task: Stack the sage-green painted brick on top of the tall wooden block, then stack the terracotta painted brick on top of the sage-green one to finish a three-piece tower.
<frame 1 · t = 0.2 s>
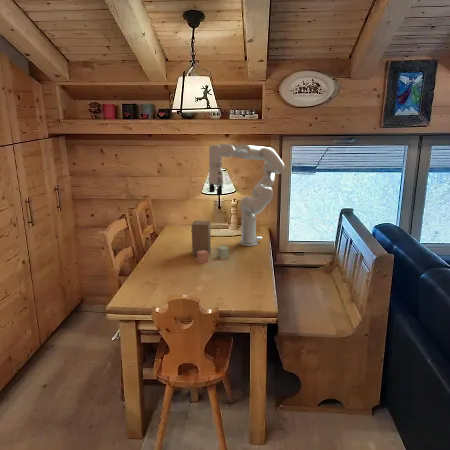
hand: (215, 193, 258), 36 cm above the table, tool pointing down, fingers open, 9 cm apart
brick terracotta: (202, 261, 246), on the table
wooden block: (201, 253, 259), on the table
brick sage: (223, 257, 253), on the table
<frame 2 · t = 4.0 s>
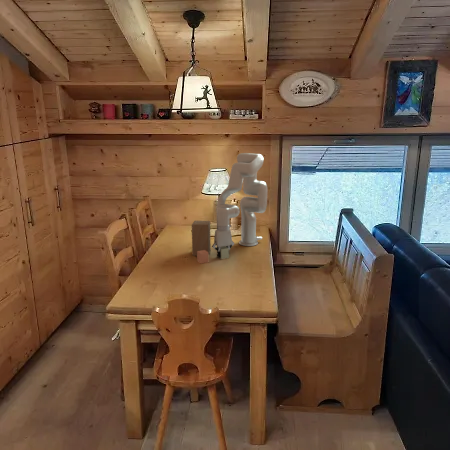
hand: (223, 256, 253), 0 cm above the table, tool pointing down, fingers closed on brick sage, 5 cm apart
brick sage: (223, 257, 253), on the table, touching gripper
everything else where it was.
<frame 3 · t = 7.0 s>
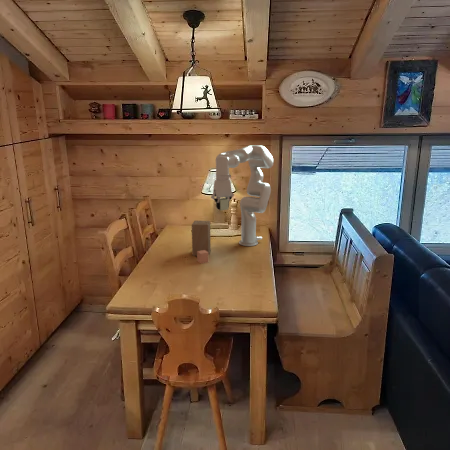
hand: (222, 208, 245), 30 cm above the table, tool pointing down, fingers closed on brick sage, 5 cm apart
brick sage: (222, 209, 245), point 30 cm above the table, touching gripper
everything else where it was.
when the fingers open (22 cm above the table, at t = 9.8 s): brick sage drops 2 cm, resting on wooden block.
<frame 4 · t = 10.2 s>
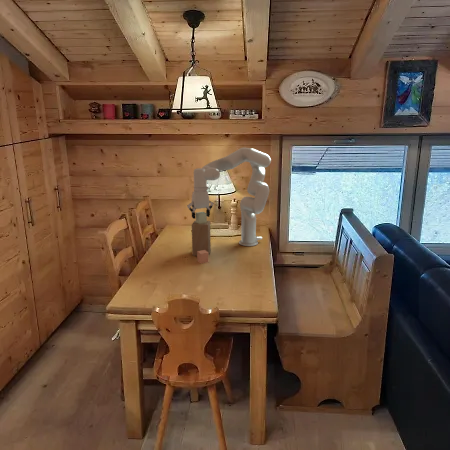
hand: (200, 217, 253), 23 cm above the table, tool pointing down, fingers open, 9 cm apart
wooden block: (201, 253, 259), on the table, touching brick sage
brick sage: (201, 222, 254), point 20 cm above the table, touching wooden block
everything else where it was.
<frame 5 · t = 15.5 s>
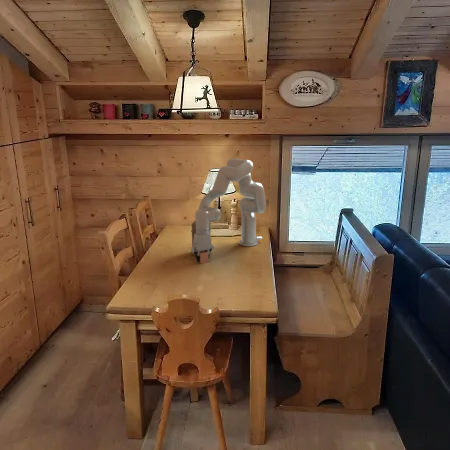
hand: (202, 260, 246), 1 cm above the table, tool pointing down, fingers closed on brick terracotta, 5 cm apart
brick terracotta: (202, 261, 246), on the table, touching gripper
brick sage: (201, 222, 255), point 20 cm above the table, touching arm, wooden block
everything else where it was.
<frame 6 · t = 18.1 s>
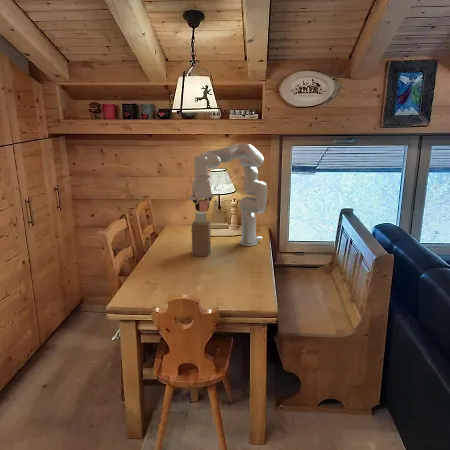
hand: (202, 209, 238), 31 cm above the table, tool pointing down, fingers closed on brick terracotta, 5 cm apart
brick terracotta: (202, 210, 238), point 31 cm above the table, touching gripper
brick sage: (201, 222, 254), point 20 cm above the table, touching wooden block
everything else where it was.
when the fingers open (28 cm above the table, at t = 20.9 s): brick terracotta drops 1 cm, resting on brick sage.
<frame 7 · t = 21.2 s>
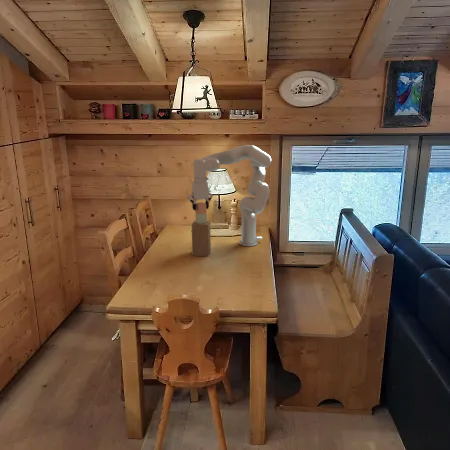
hand: (200, 209, 252), 28 cm above the table, tool pointing down, fingers open, 7 cm apart
brick terracotta: (200, 213, 253), point 26 cm above the table, touching brick sage
brick sage: (201, 222, 254), point 20 cm above the table, touching brick terracotta, wooden block
everything else where it was.
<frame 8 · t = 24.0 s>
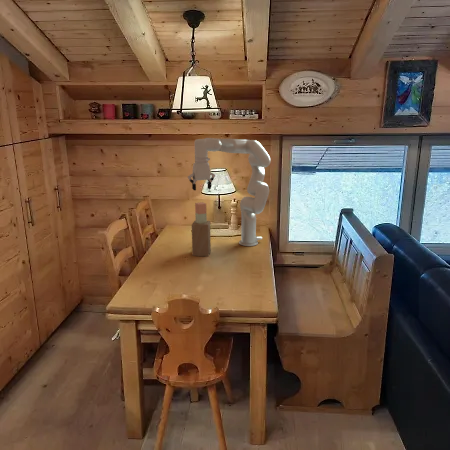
hand: (201, 189, 249), 40 cm above the table, tool pointing down, fingers open, 9 cm apart
nothing on the table moved.
at the end: brick sage 0.3 cm from the wooden block (horizontally); brick sage point 20.0 cm above the table; brick terracotta 0.3 cm off-centre on the brick sage, point 6.0 cm above the brick sage's base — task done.
